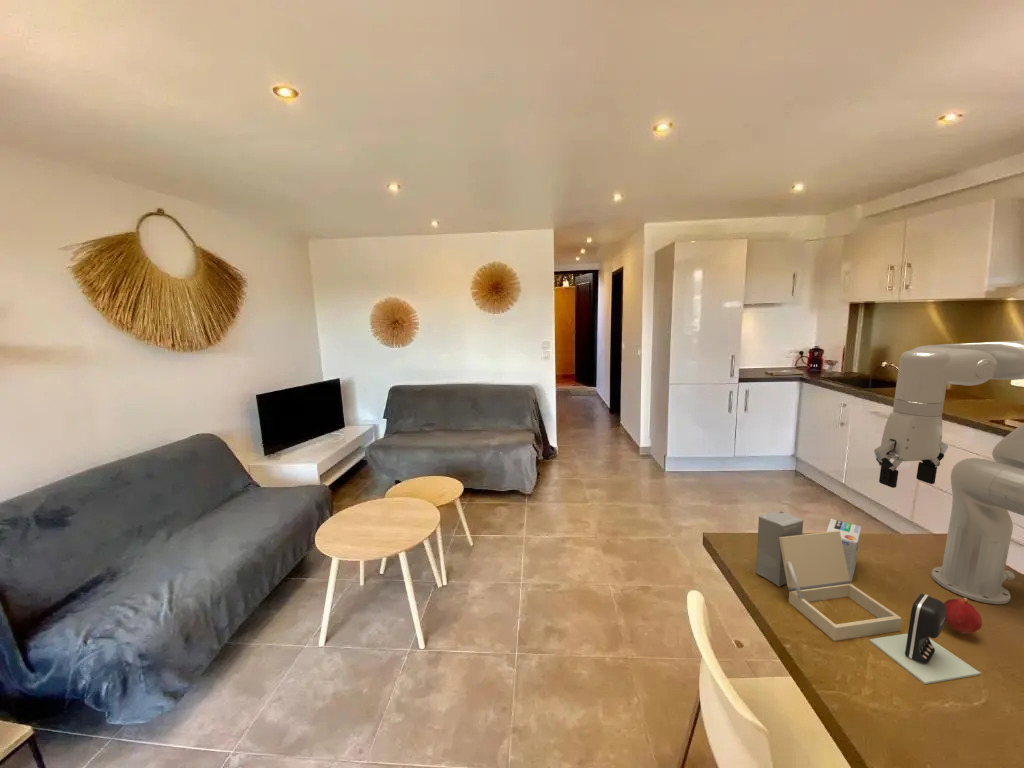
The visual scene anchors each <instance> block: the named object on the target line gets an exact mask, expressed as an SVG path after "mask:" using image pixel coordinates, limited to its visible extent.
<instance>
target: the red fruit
mask: <svg viewBox="0 0 1024 768" xmlns="http://www.w3.org/2000/svg"><path fill="white" fill-rule="evenodd" d="M968 599H969V598H966V597H962V598H952V599H948V600H946V601H944V602H943V603H944V604H945V606H946V620H945V624H947V625H948V627H950V628H951V629H953V631H954V632H955V633H958V634H974V633H976V632H978V631H979V630H980V629H981V628H982V626H983V621H982V617H981V614H980V613H979V611H978V610H977V609H976V608H975V607H974V606H973V605H972V604H971V603H969V600H968Z"/></svg>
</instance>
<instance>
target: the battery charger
mask: <svg viewBox="0 0 1024 768" xmlns="http://www.w3.org/2000/svg"><path fill="white" fill-rule="evenodd" d="M945 620H946V606H945V604H944V602H943V601H942V600H940V599H938V598H935V597H932V596H930V595H928V594H925V593H920V594H919V595H918V596H917V598H916V599H915V601H914V602H913V604H912V607H911V611H910V617H909V624H908V630H907V631H908V632H907V633H908V636H907V643H906V650H905V655H906V656H908V657H909V658H911V659H914V660H916V661H918V662H921V663H924V664H927V663H928V662H929V661H930V659H931V657H932V656H933V654H934V652H935V648H934V647H933V646H932V644H931V642H930V639H937V638H938V637H939V636H940V635H941V632H942V630H943V629H944V627H945V626H946V622H945ZM929 638H930V639H929Z"/></svg>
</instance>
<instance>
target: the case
mask: <svg viewBox="0 0 1024 768" xmlns="http://www.w3.org/2000/svg"><path fill="white" fill-rule="evenodd" d="M779 541H780V547H781V552H782V558H783V563H784V569H785V574H786V580H787V583H786V585H787V590H788V591H789V595H788V603H789V604H791V605H792V606H793V607H794V608H795V609H796V610H798V611H799V613H801V614H802V615H803V616H804V617H806V618H807V619H808V620H809V621H811V623H813V624H814V625H815V626H816V627H817V628H819V629H820V630H821V631H822V632H823V633H825V634H826V635H827V636H828V637H829V638H830V639H831V640H832V641H834V642H835V641H842V640H849V639H856V638H861V637H862V638H863V637H868V636H875V635H881V634H888V633H895V632H901V626H902V625H901V624H902V619H903V618H902V617H901V616H899V615H898V614H896V613H895V612H894V611H892V610H891V609H889V608H888V607H886V606H885V605H883V604H882V603H880V602H879V601H877V600H876V599H874V598H873V597H872V596H870V595H868V594H867V593H865V592H863V590H861V589H859V588H858V587H856V586H855V585H853V584H852V583H851V581H850V578H849V574H848V569H847V564H846V559H845V554H844V549H843V544H842V539H841V535H840V531H832V532H826V531H824V532H823V531H822V532H815V533H805V534H802V535H795V536H786V537H779ZM839 598H840V599H841V598H849V599H851V600H852V601H853V602H855V603H856V604H857V605H859V607H860V606H861V607H862V608H863V609H865V611H867V612H869V613H870V614H872V615H873V616H874V617H875V618H871V619H864V620H857V621H851V622H842V623H838V624H837V623H834V622H833V621H832V620H831V619H830V618H828V617H827V616H826V615H824V614H823V613H822V612H821V611H819V609H817V608H816V607H815V606H814V605H812V604H811V602H819V601H824V600H831V599H833V600H834V599H839Z"/></svg>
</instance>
